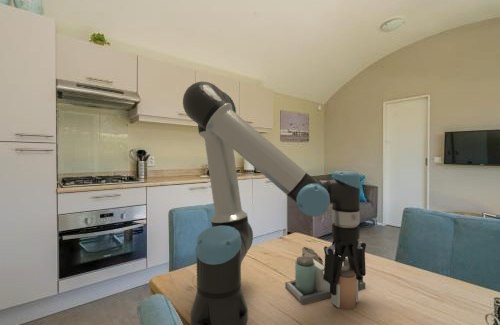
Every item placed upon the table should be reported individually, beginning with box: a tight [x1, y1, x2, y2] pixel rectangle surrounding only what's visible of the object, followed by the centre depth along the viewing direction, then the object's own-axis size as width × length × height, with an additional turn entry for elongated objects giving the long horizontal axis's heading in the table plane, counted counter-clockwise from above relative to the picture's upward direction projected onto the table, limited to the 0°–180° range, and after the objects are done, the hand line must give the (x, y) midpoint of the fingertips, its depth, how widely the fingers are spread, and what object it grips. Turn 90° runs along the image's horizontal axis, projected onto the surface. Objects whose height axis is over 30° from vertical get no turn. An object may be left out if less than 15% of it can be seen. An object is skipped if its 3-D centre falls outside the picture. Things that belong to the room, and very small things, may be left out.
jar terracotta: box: [338, 265, 357, 311], centre depth 74 cm, size 6×6×10 cm
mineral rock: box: [301, 246, 323, 265], centre depth 101 cm, size 15×8×4 cm, turn 169°
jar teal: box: [294, 256, 315, 296], centre depth 80 cm, size 6×6×10 cm
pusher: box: [313, 259, 325, 292], centre depth 81 cm, size 2×7×8 cm, turn 21°
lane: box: [284, 257, 366, 305], centre depth 82 cm, size 24×10×7 cm, turn 111°
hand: (344, 301), depth 74 cm, fingers closed on jar terracotta, 6 cm apart
